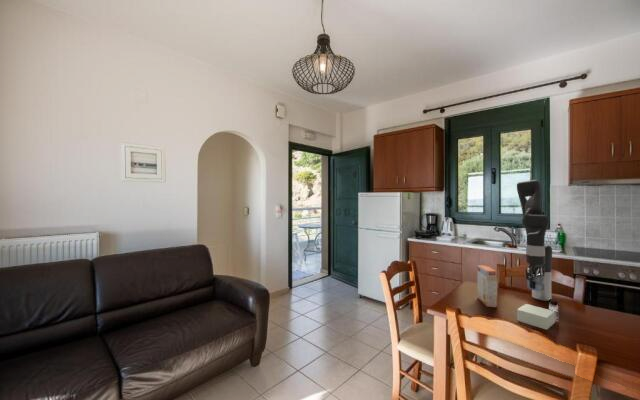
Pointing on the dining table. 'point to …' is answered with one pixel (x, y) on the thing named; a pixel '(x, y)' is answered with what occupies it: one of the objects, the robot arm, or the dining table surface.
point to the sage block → (536, 316)
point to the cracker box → (487, 286)
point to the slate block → (537, 283)
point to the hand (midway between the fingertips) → (535, 287)
